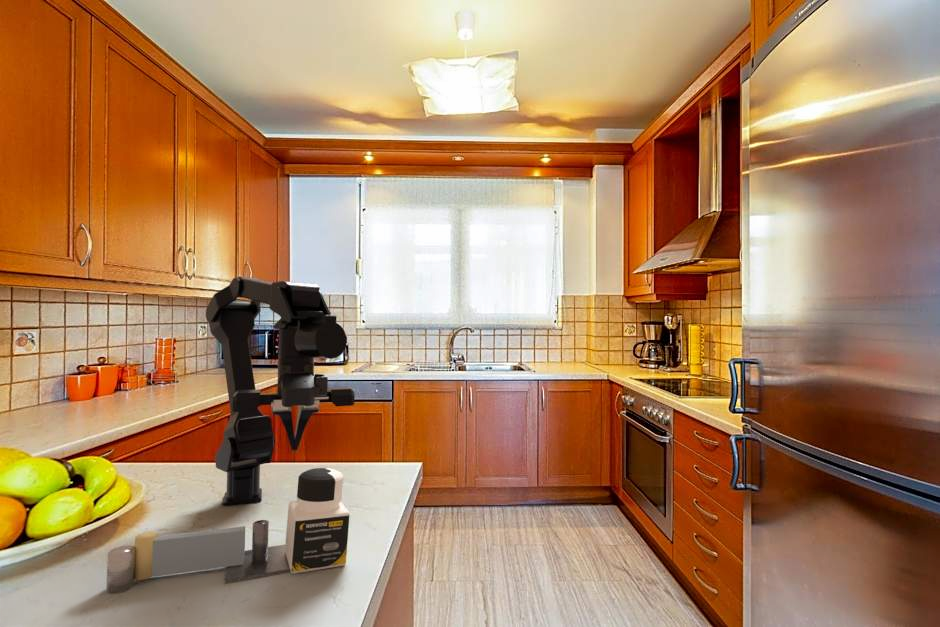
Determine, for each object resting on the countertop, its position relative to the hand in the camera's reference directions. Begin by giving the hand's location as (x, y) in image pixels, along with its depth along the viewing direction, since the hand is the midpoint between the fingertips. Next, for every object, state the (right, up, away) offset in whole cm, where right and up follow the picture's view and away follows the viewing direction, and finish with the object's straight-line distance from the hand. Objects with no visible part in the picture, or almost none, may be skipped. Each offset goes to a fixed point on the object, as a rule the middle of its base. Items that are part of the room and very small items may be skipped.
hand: (294, 450), depth 80 cm
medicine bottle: (+8, -12, -13) cm, 19 cm away
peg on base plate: (+1, -11, -14) cm, 18 cm away
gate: (-7, -11, -17) cm, 21 cm away
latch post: (-14, -11, -21) cm, 27 cm away
